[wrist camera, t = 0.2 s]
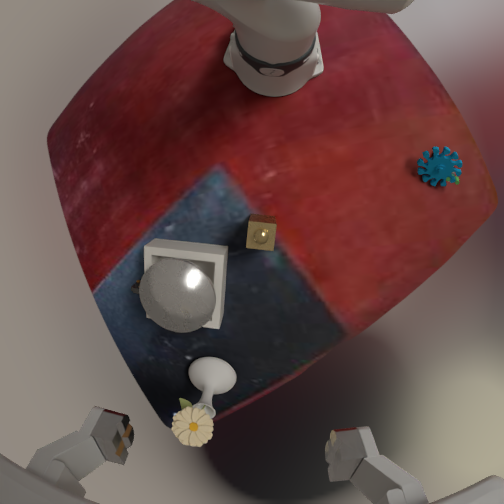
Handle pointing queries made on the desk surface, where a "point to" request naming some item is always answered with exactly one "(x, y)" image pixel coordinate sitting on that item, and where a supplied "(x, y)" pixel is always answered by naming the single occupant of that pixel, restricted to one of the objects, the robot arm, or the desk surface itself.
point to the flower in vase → (202, 400)
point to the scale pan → (176, 295)
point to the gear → (440, 167)
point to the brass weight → (261, 232)
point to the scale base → (201, 255)
